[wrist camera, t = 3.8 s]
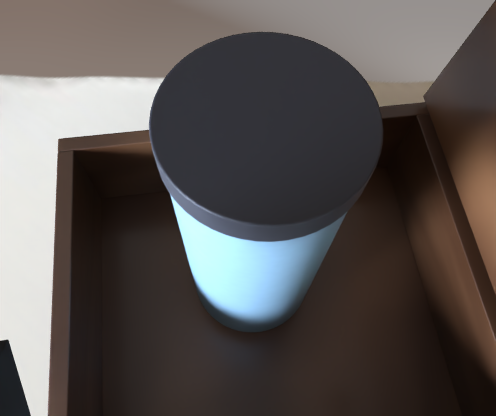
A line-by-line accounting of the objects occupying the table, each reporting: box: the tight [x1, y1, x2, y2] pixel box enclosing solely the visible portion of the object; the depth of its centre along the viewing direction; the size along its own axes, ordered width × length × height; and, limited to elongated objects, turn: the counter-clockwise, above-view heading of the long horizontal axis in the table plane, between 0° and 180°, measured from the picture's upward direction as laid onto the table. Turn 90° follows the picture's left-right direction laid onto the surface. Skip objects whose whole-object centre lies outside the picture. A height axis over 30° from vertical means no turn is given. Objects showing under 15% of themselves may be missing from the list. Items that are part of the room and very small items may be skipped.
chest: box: [48, 102, 496, 416], centre depth 24 cm, size 20×17×6 cm
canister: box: [149, 32, 383, 332], centre depth 20 cm, size 7×7×15 cm
